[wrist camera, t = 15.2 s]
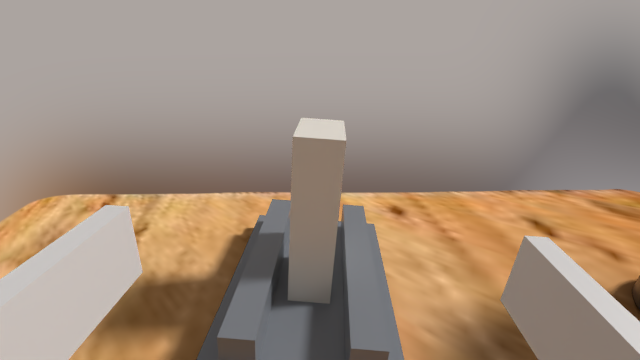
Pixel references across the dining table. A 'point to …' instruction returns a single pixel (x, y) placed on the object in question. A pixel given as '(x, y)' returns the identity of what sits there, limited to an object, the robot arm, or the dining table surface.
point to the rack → (306, 317)
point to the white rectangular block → (315, 207)
